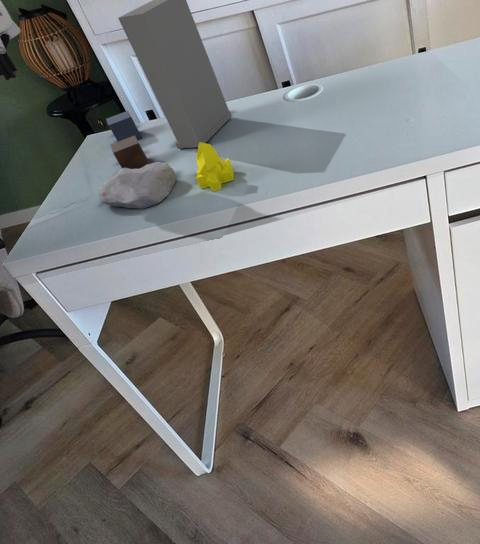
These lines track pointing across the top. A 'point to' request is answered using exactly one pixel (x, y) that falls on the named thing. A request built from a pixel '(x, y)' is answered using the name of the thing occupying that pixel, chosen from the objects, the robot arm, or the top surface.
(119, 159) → the walnut block
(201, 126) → the tall grey pillar
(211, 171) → the crumpled paper
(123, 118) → the slate block
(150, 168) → the grey rock
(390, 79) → the top surface
